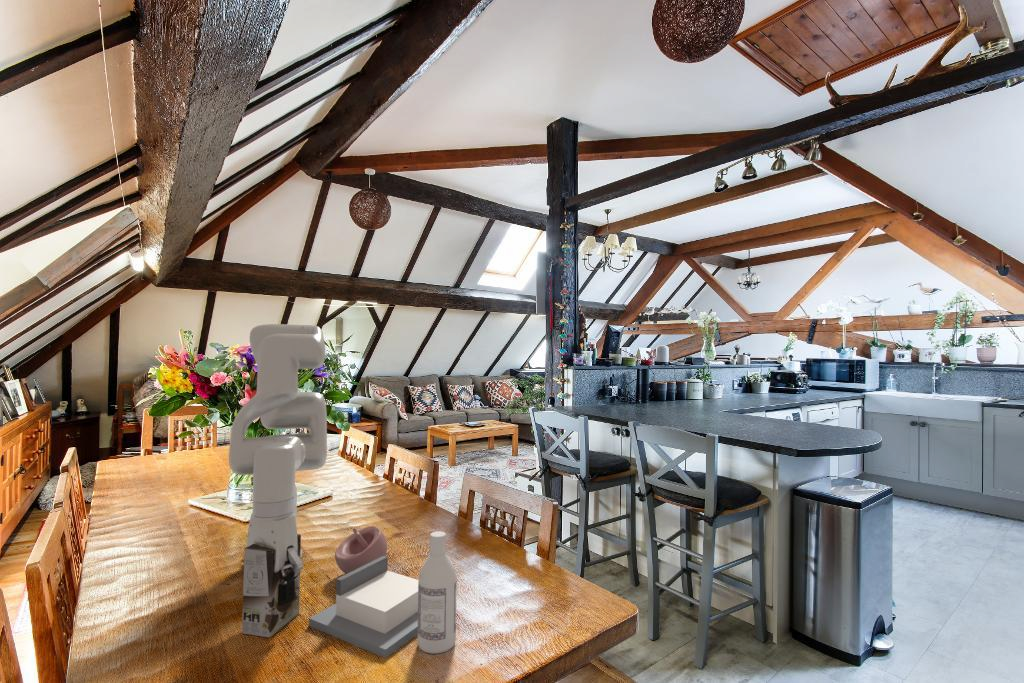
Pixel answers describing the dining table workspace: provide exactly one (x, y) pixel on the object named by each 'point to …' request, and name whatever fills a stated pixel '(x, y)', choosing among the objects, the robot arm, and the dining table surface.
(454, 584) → the bath foam
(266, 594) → the coffee box
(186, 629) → the dining table surface
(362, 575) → the display stand
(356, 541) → the mortar and pestle
